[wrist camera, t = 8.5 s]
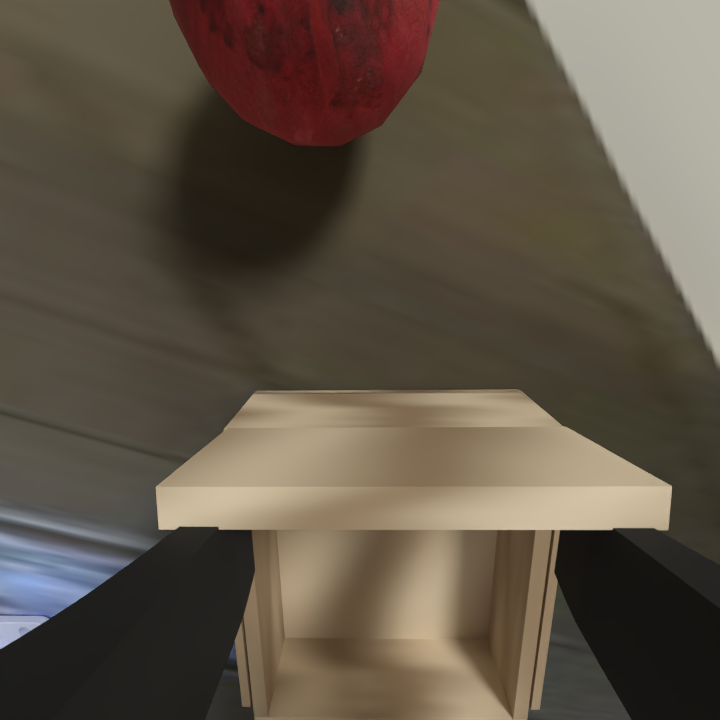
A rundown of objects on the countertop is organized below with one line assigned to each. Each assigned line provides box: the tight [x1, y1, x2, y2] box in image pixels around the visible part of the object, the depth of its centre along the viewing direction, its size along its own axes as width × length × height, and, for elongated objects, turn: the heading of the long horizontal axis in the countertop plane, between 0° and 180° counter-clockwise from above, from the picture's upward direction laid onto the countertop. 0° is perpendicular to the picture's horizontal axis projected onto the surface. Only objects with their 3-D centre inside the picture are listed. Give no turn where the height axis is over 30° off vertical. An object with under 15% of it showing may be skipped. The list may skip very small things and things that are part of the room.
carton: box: [224, 389, 563, 720], centre depth 15 cm, size 11×12×4 cm
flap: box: [156, 427, 672, 530], centre depth 9 cm, size 9×4×1 cm
